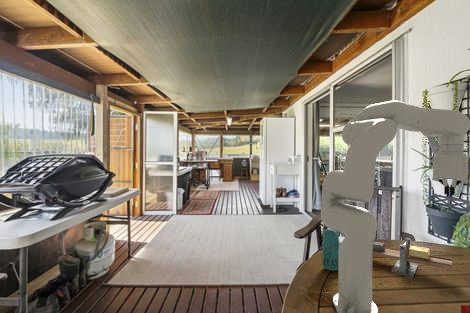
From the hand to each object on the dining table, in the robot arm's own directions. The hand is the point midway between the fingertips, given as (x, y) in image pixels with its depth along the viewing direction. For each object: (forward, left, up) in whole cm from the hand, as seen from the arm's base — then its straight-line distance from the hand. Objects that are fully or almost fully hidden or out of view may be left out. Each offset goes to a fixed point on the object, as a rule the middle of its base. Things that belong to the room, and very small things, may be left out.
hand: (449, 196), depth 95 cm
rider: (-6, +8, -25) cm, 27 cm away
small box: (-18, +33, -31) cm, 49 cm away
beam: (-6, +13, -26) cm, 30 cm away
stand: (-6, +13, -31) cm, 34 cm away
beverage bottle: (-28, +35, -31) cm, 55 cm away
